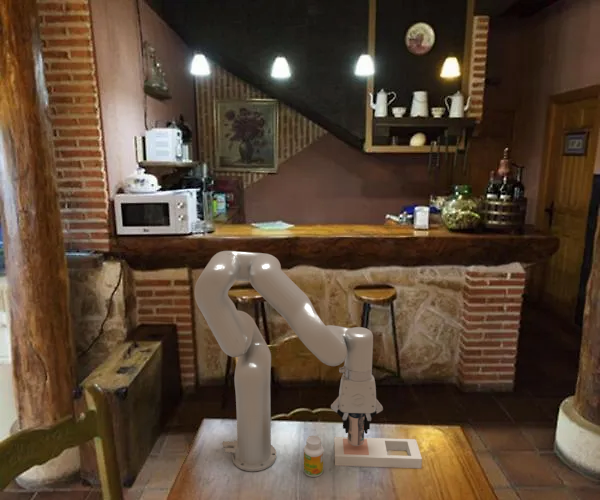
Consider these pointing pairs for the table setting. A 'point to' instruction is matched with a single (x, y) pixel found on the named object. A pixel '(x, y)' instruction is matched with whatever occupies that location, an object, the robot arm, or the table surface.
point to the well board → (377, 453)
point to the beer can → (356, 428)
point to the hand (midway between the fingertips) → (356, 430)
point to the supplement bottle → (313, 456)
